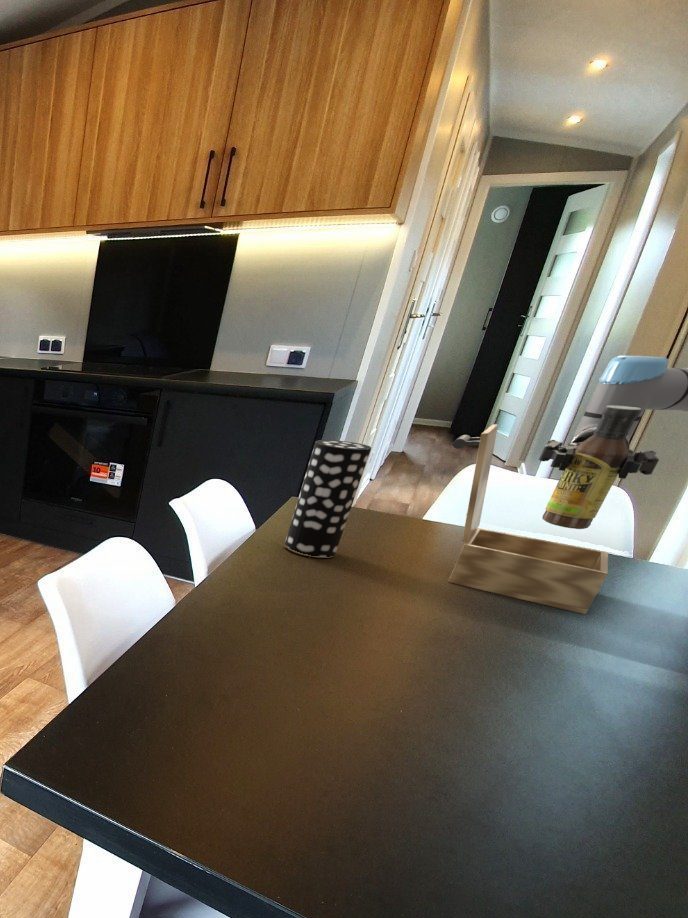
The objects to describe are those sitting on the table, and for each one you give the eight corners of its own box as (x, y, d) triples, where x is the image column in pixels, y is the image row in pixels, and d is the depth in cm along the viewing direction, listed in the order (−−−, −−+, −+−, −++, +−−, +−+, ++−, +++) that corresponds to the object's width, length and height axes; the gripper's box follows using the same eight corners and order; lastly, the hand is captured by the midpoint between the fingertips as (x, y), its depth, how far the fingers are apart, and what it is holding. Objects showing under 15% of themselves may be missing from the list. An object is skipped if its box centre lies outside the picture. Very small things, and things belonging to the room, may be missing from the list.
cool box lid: (498, 424, 107) (463, 425, 110) (488, 433, 98) (451, 434, 102) (479, 525, 112) (446, 523, 115) (468, 541, 104) (433, 539, 107)
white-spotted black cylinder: (344, 559, 116) (383, 450, 108) (299, 558, 116) (334, 448, 108) (317, 544, 124) (351, 440, 115) (274, 543, 124) (305, 439, 115)
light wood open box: (587, 590, 105) (608, 552, 102) (585, 614, 96) (607, 573, 93) (460, 562, 116) (475, 527, 113) (447, 582, 107) (464, 544, 104)
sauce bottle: (530, 519, 113) (582, 403, 105) (565, 519, 113) (620, 404, 105) (564, 530, 107) (622, 408, 99) (601, 530, 107) (663, 409, 99)
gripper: (664, 478, 112) (671, 501, 97) (519, 459, 124) (506, 477, 110) (687, 435, 109) (698, 452, 94) (536, 420, 121) (525, 433, 107)
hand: (595, 466), depth 102 cm, fingers closed on sauce bottle, 6 cm apart
